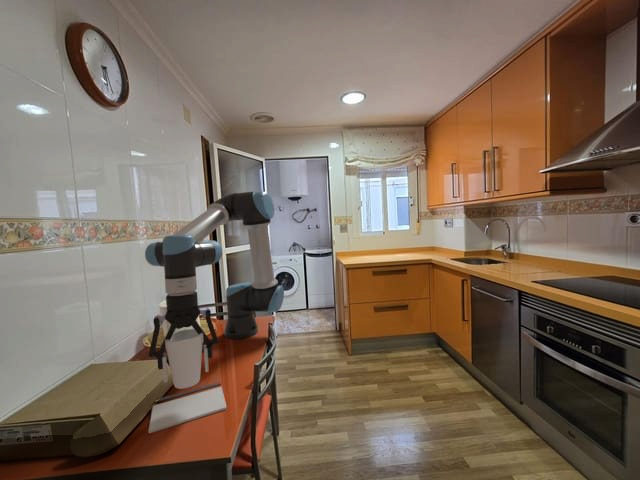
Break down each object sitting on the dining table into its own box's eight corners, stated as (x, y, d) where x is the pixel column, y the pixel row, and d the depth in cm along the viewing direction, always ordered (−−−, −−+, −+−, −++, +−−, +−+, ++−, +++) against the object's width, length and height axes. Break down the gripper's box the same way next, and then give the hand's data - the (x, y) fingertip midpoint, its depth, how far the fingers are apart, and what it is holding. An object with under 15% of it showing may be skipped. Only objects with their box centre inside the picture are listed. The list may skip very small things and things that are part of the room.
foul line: (220, 382, 88) (220, 381, 88) (220, 384, 87) (220, 383, 87) (154, 400, 80) (154, 399, 80) (154, 403, 79) (153, 402, 79)
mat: (221, 388, 84) (221, 386, 84) (226, 409, 75) (226, 406, 75) (153, 407, 77) (153, 405, 76) (148, 433, 67) (148, 431, 67)
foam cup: (180, 373, 80) (177, 328, 80) (211, 372, 80) (208, 328, 79) (160, 392, 71) (156, 342, 70) (195, 391, 70) (192, 341, 70)
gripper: (130, 301, 66) (136, 393, 67) (226, 289, 76) (231, 370, 77) (135, 295, 73) (140, 379, 74) (223, 285, 82) (227, 359, 83)
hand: (186, 374), depth 75 cm, fingers closed on foam cup, 9 cm apart
